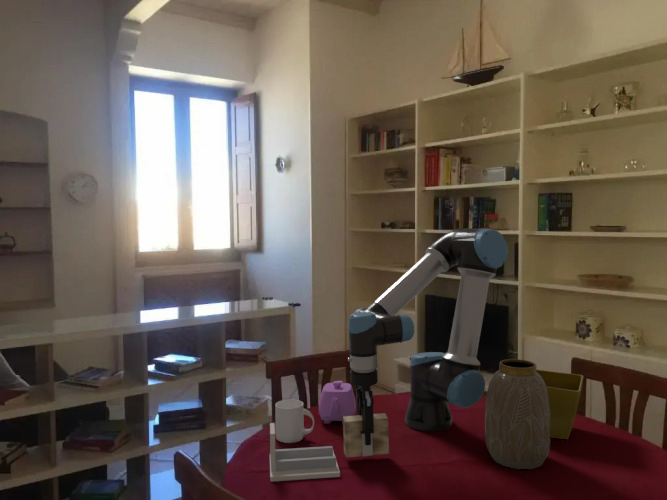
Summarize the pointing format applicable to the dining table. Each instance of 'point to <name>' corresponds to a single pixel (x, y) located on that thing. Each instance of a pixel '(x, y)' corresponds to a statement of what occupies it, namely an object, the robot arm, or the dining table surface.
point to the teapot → (336, 402)
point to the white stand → (301, 462)
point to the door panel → (354, 438)
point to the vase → (518, 416)
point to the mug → (291, 421)
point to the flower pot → (562, 400)
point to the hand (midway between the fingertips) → (365, 451)
